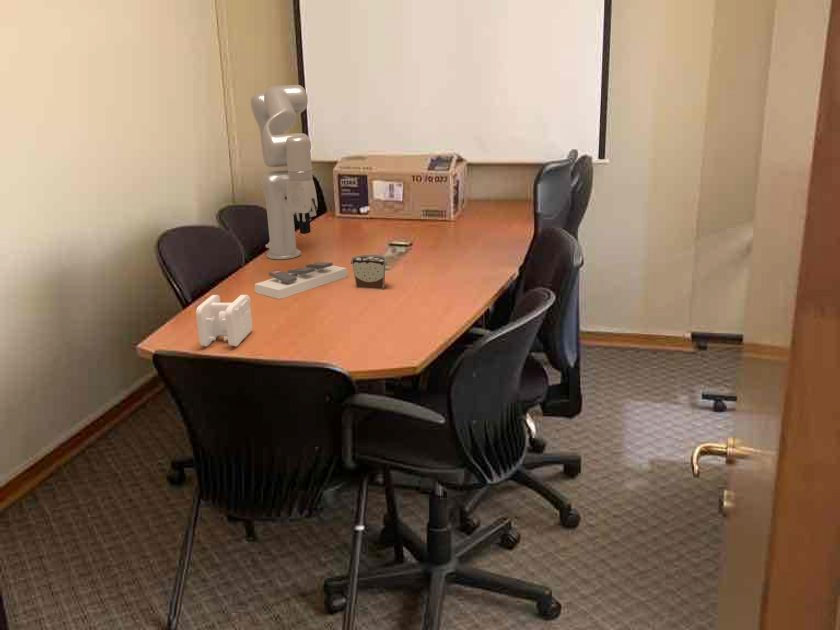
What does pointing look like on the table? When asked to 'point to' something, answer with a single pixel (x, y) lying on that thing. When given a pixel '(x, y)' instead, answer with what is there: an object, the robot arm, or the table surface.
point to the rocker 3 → (319, 265)
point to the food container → (369, 271)
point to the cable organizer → (224, 320)
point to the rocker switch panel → (300, 282)
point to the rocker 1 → (282, 276)
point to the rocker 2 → (301, 270)
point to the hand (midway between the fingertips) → (305, 232)
